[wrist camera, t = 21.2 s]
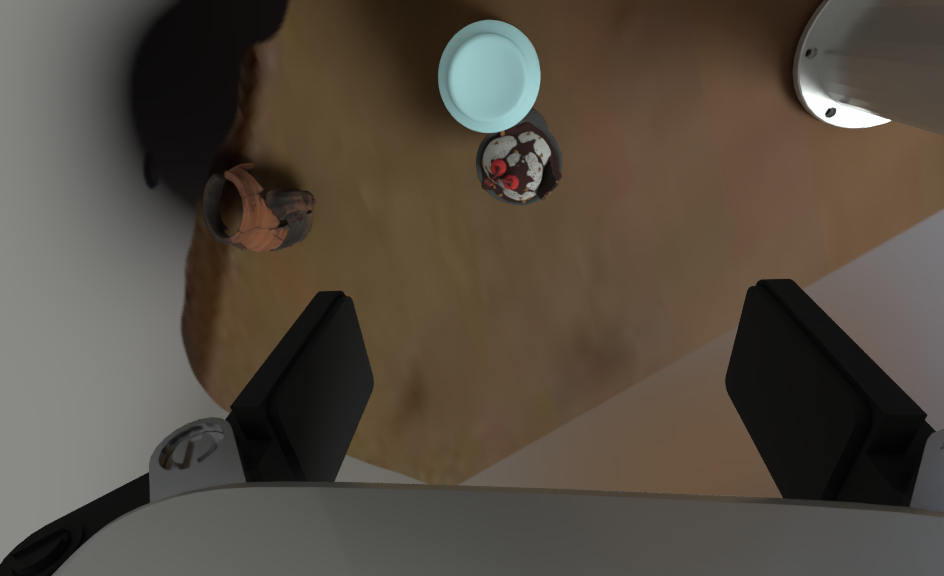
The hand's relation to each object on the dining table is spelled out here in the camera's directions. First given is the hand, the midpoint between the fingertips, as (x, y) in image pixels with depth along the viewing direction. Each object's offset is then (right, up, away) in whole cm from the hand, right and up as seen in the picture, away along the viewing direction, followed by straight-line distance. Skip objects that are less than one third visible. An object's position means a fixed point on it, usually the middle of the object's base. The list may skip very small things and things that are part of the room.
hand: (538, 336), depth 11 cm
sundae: (+3, +16, +33) cm, 37 cm away
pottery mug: (-21, +11, +40) cm, 47 cm away
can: (-1, +15, +19) cm, 24 cm away
